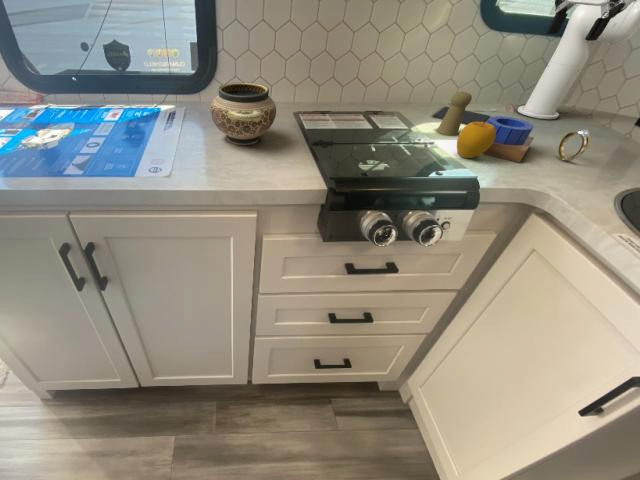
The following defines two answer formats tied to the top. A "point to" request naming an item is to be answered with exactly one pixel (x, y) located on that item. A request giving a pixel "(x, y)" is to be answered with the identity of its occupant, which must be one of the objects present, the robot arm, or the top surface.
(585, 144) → the ring
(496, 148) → the platform
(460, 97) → the tan pawn figure
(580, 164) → the top surface
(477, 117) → the mat
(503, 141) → the ring
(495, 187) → the top surface
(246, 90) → the floral ceramic pot
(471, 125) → the apple
